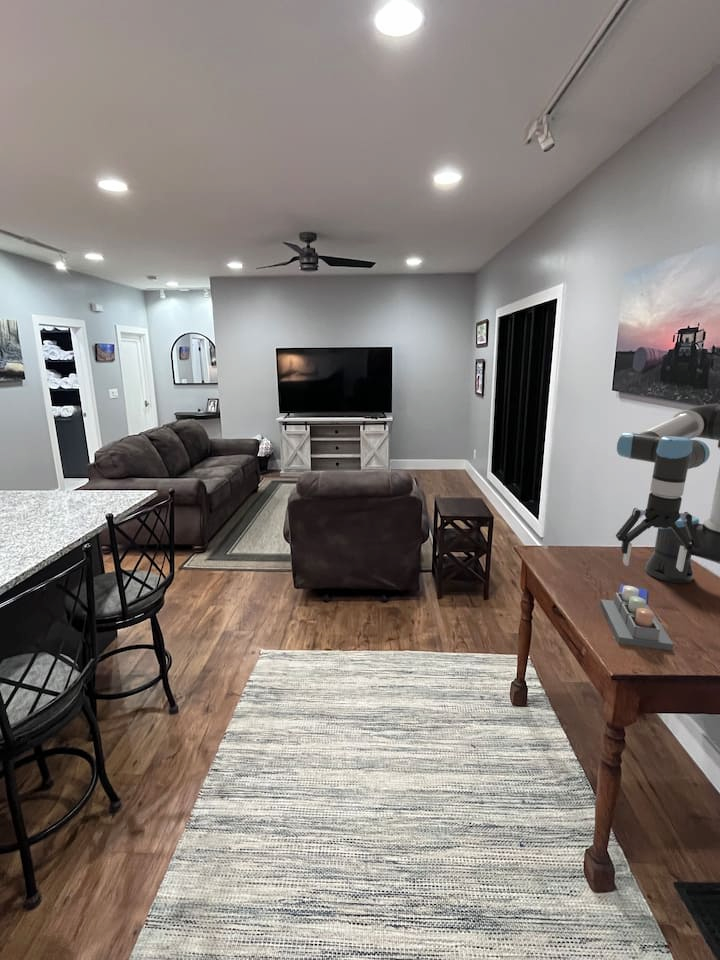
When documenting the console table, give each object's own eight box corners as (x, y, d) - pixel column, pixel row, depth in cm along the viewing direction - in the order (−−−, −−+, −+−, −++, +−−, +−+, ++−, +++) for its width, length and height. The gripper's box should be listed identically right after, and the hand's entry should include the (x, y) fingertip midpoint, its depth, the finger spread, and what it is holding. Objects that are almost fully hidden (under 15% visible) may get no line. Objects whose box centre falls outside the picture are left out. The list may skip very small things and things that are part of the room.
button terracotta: (649, 621, 140) (651, 609, 139) (654, 629, 136) (656, 617, 135) (632, 619, 141) (634, 607, 140) (637, 627, 137) (639, 615, 136)
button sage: (641, 609, 147) (643, 597, 146) (646, 616, 142) (648, 604, 141) (625, 607, 148) (627, 595, 146) (630, 614, 143) (632, 602, 142)
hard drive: (621, 583, 170) (618, 598, 160) (647, 589, 166) (647, 605, 156) (620, 587, 171) (618, 602, 161) (646, 593, 167) (646, 609, 156)
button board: (646, 610, 155) (649, 595, 154) (672, 650, 134) (676, 633, 133) (599, 604, 158) (602, 589, 157) (618, 643, 138) (621, 626, 136)
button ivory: (634, 597, 153) (636, 586, 152) (638, 604, 149) (640, 593, 148) (619, 596, 154) (621, 585, 153) (623, 603, 150) (625, 591, 149)
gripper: (712, 494, 129) (696, 565, 135) (611, 487, 135) (600, 556, 140) (725, 502, 122) (708, 577, 128) (618, 494, 128) (606, 567, 133)
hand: (651, 566), depth 134 cm, fingers open, 13 cm apart
